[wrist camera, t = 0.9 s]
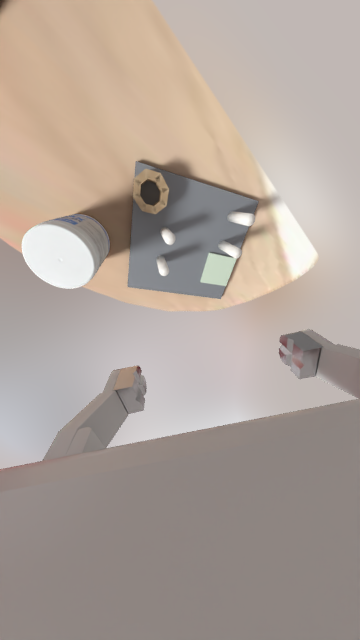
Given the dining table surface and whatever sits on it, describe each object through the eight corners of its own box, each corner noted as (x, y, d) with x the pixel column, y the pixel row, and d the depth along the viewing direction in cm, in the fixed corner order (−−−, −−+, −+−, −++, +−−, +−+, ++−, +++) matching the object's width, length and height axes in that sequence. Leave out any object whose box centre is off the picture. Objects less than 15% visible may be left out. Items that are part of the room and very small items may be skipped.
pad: (208, 252, 42) (209, 253, 41) (235, 257, 44) (236, 258, 43) (200, 281, 46) (200, 282, 45) (225, 285, 48) (226, 286, 47)
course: (136, 162, 31) (134, 150, 24) (255, 201, 38) (283, 201, 31) (127, 285, 44) (125, 302, 36) (219, 297, 51) (232, 313, 44)
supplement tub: (87, 203, 33) (57, 205, 21) (120, 248, 39) (110, 269, 27) (49, 231, 35) (1, 247, 23) (86, 270, 40) (63, 300, 28)
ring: (135, 168, 31) (134, 164, 27) (168, 178, 32) (171, 176, 29) (132, 207, 34) (131, 208, 31) (162, 215, 36) (164, 216, 32)
